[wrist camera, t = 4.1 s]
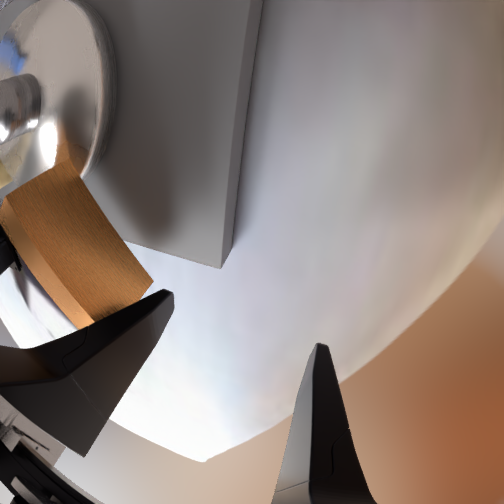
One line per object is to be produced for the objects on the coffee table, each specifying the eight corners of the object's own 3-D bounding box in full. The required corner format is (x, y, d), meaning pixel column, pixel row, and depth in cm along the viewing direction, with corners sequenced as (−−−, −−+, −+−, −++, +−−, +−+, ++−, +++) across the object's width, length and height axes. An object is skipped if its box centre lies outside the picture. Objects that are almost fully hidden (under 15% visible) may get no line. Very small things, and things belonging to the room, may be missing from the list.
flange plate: (14, 208, 15) (-31, 244, 11) (11, 18, 6) (-54, 34, 3) (165, 285, 14) (115, 356, 10) (218, -21, 5) (128, -70, 2)
